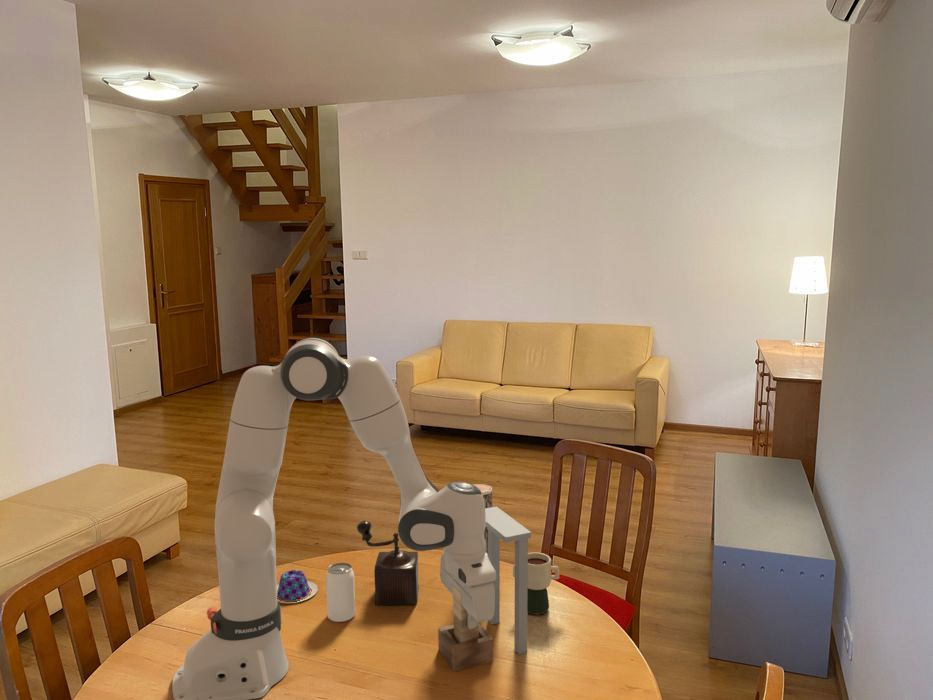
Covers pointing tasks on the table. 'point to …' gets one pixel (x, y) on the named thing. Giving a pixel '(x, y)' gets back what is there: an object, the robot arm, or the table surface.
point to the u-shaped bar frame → (509, 532)
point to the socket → (465, 649)
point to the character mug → (539, 581)
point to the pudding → (295, 586)
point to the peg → (462, 621)
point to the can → (340, 592)
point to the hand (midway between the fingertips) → (465, 620)
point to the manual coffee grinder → (393, 572)
